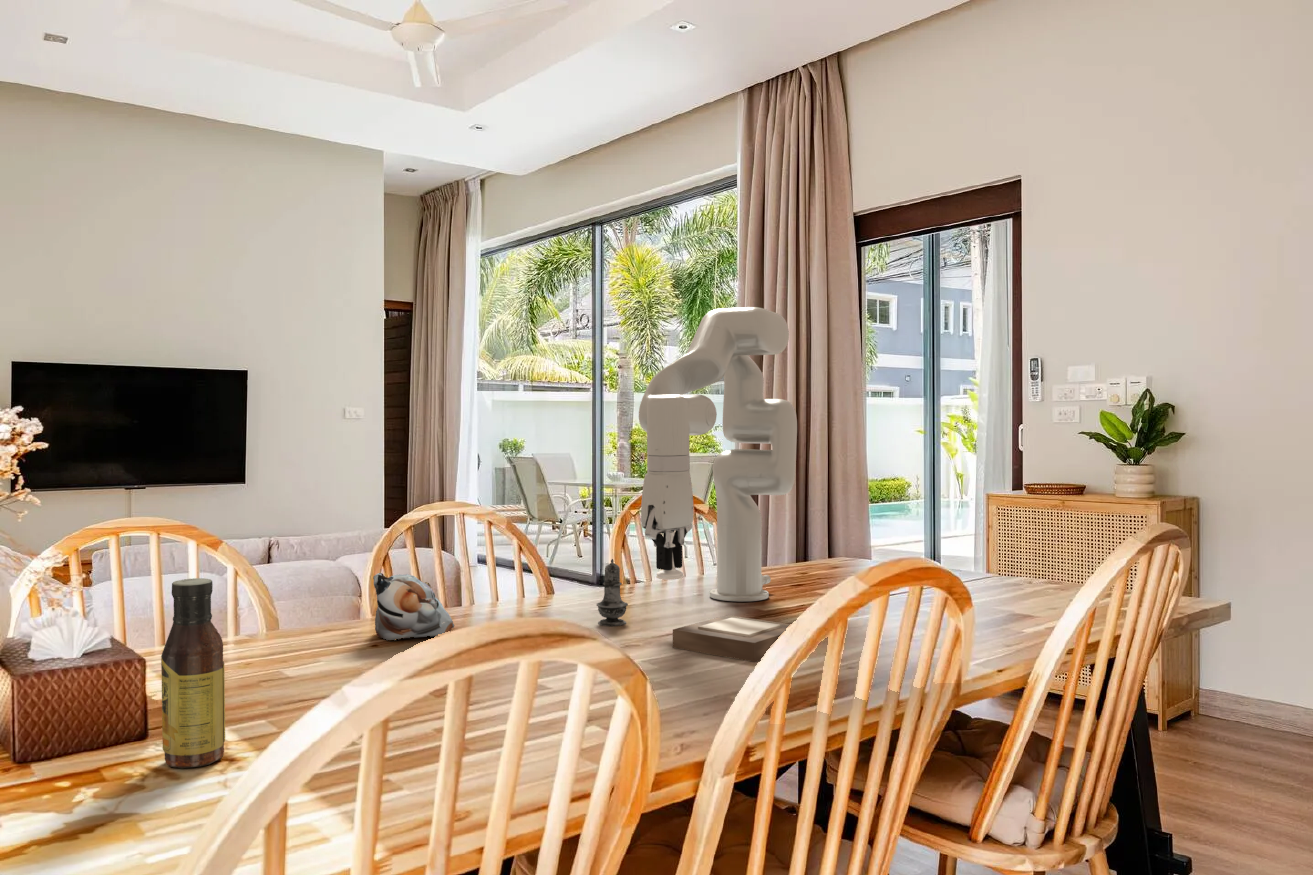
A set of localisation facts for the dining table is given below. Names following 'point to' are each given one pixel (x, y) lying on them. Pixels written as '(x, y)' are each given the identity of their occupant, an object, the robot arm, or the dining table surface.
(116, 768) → the dining table surface
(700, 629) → the walnut base
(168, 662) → the sauce bottle
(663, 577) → the chess piece
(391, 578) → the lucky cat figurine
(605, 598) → the salt shaker
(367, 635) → the dining table surface
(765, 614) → the dining table surface
